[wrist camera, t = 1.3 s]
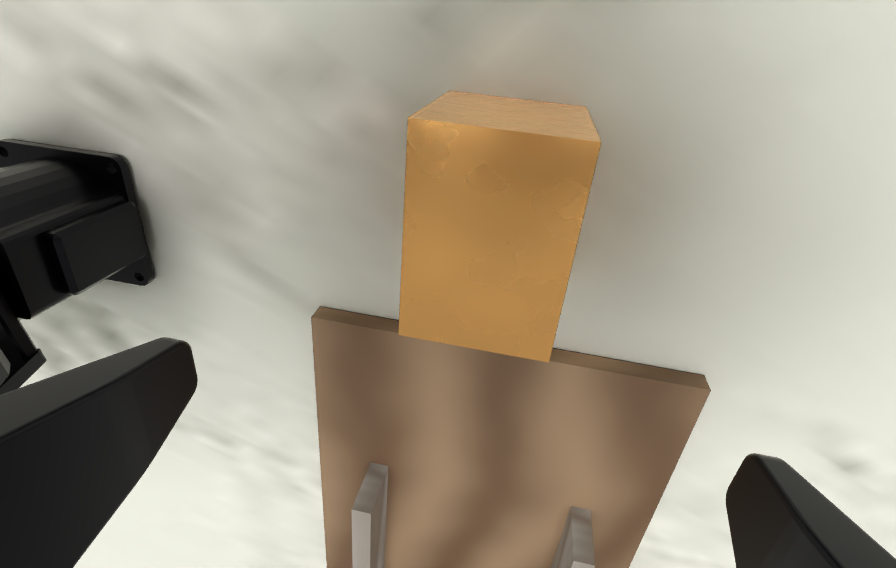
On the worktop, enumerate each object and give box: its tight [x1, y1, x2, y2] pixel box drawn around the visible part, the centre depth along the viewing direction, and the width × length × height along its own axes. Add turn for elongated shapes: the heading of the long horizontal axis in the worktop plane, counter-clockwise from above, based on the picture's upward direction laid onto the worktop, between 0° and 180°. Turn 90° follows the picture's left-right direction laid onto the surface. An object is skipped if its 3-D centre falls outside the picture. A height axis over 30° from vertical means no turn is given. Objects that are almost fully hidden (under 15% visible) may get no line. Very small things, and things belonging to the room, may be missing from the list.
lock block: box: [399, 91, 601, 363], centre depth 17 cm, size 5×7×6 cm
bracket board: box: [311, 307, 711, 568], centre depth 26 cm, size 18×22×4 cm
